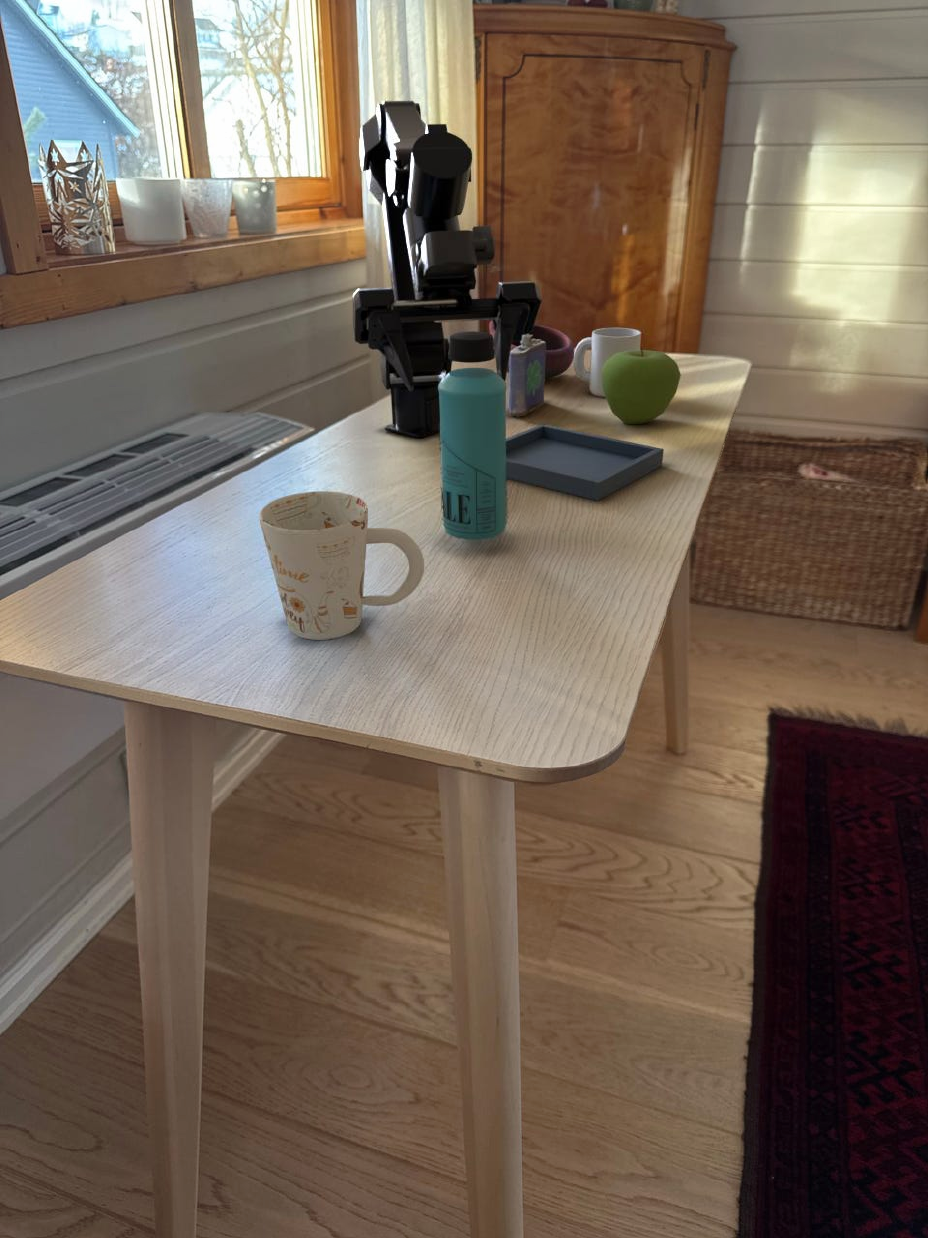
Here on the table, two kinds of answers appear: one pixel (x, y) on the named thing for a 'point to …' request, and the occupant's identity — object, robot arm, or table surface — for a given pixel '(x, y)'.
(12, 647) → the table surface
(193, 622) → the table surface
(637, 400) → the apple
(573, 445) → the tray
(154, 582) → the table surface
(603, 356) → the cup
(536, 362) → the flask
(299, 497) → the mug
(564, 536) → the table surface
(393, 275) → the robot arm
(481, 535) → the beverage bottle
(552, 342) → the bowl
